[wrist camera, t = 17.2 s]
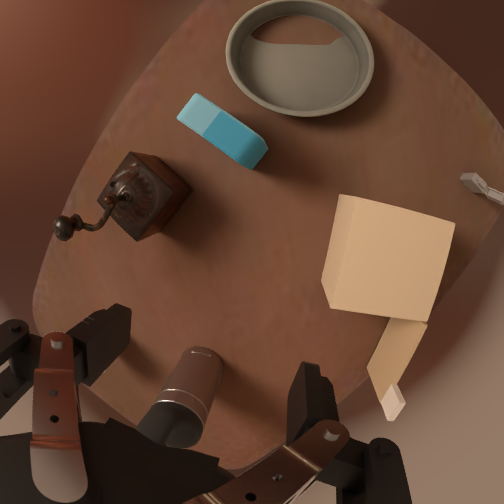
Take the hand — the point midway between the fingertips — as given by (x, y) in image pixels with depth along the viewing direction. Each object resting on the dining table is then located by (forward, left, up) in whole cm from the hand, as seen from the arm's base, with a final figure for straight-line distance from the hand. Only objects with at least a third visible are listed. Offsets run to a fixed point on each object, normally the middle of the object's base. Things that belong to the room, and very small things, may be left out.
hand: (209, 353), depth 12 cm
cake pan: (+31, -1, -39) cm, 50 cm away
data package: (+14, +8, -38) cm, 42 cm away
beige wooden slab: (-16, -26, -38) cm, 49 cm away
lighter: (+16, -38, -38) cm, 56 cm away
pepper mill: (+1, +22, -38) cm, 44 cm away
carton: (0, -19, -38) cm, 43 cm away
